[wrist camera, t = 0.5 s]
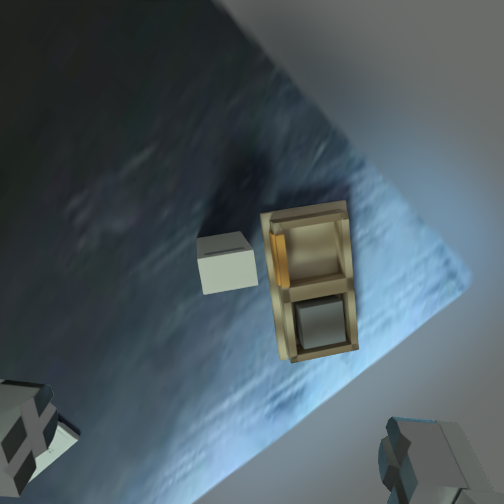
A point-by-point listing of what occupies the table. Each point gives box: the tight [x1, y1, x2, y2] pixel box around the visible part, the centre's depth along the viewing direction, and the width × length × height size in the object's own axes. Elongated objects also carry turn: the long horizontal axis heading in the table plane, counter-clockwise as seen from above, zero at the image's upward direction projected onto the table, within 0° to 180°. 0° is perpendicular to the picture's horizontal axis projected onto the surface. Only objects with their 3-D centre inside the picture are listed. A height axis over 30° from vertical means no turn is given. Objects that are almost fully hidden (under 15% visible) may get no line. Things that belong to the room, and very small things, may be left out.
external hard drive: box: [29, 421, 80, 482], centre depth 54 cm, size 2×8×12 cm
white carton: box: [197, 231, 258, 295], centre depth 47 cm, size 4×6×12 cm
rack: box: [260, 200, 359, 363], centre depth 53 cm, size 22×12×5 cm, turn 8°
